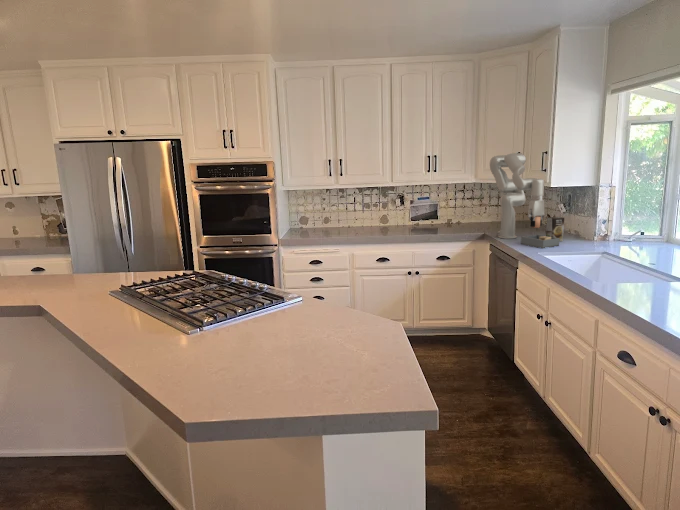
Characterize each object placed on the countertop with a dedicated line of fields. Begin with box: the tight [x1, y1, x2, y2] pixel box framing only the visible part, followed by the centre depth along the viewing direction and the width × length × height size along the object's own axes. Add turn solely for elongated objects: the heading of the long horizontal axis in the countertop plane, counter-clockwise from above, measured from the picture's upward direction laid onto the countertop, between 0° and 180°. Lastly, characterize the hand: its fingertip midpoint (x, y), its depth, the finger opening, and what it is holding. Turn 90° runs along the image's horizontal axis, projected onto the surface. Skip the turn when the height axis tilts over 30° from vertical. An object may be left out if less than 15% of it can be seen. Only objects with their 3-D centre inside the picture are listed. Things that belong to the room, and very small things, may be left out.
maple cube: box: [539, 235, 551, 240], centre depth 289 cm, size 5×5×5 cm
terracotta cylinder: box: [531, 216, 541, 229], centre depth 293 cm, size 5×5×7 cm
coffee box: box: [545, 216, 565, 243], centre depth 302 cm, size 9×6×16 cm
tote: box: [520, 234, 560, 249], centre depth 293 cm, size 18×14×5 cm
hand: (535, 226), depth 294 cm, fingers closed on terracotta cylinder, 5 cm apart
